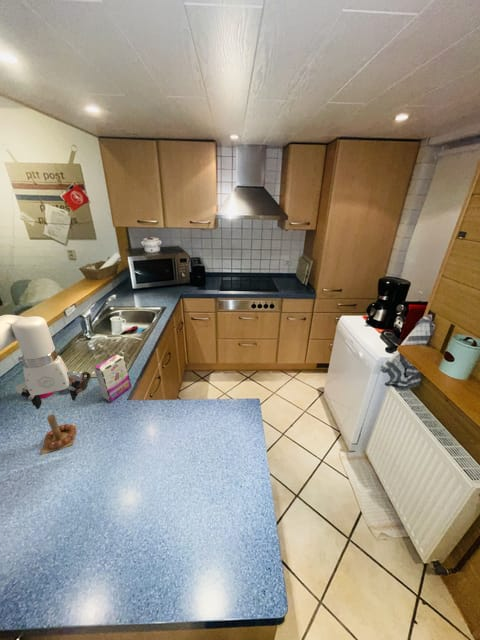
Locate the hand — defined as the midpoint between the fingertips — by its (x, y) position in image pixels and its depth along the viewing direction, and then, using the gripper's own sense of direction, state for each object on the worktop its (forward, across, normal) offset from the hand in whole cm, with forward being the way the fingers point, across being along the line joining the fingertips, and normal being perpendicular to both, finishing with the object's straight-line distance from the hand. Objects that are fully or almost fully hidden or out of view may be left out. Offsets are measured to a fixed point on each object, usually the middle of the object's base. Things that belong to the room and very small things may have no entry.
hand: (57, 401), depth 81 cm
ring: (+14, -2, 0) cm, 14 cm away
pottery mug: (+17, -1, +29) cm, 33 cm away
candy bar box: (+17, +15, +19) cm, 29 cm away
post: (+17, -3, 0) cm, 17 cm away
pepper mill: (+17, -13, +29) cm, 36 cm away
